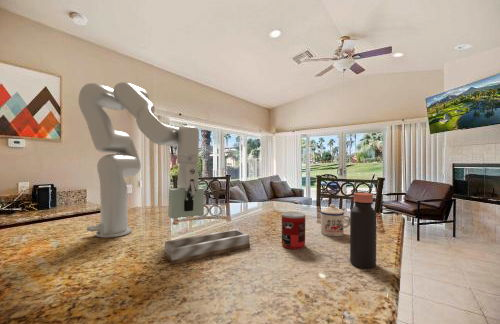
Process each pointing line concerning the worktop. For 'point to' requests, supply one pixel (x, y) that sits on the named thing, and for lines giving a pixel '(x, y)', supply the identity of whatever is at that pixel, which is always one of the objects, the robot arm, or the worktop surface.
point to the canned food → (293, 230)
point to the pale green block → (178, 203)
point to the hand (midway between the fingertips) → (186, 209)
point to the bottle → (363, 232)
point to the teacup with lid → (333, 221)
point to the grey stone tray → (205, 245)
